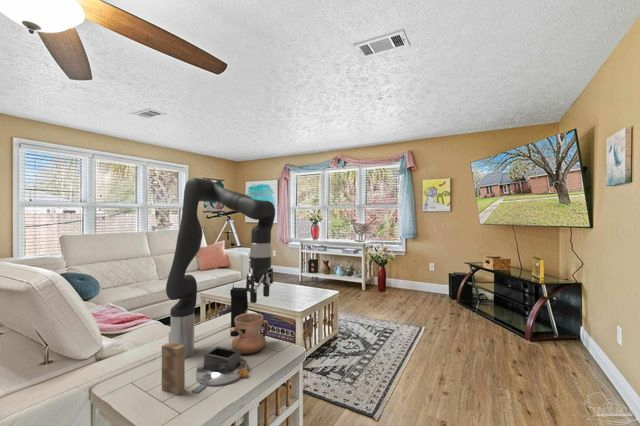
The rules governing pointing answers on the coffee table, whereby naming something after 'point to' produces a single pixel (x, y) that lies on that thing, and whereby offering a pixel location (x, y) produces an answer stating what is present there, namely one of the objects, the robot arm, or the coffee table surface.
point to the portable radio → (238, 305)
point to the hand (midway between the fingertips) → (260, 299)
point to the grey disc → (221, 367)
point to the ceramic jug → (249, 333)
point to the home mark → (199, 388)
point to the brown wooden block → (173, 368)
